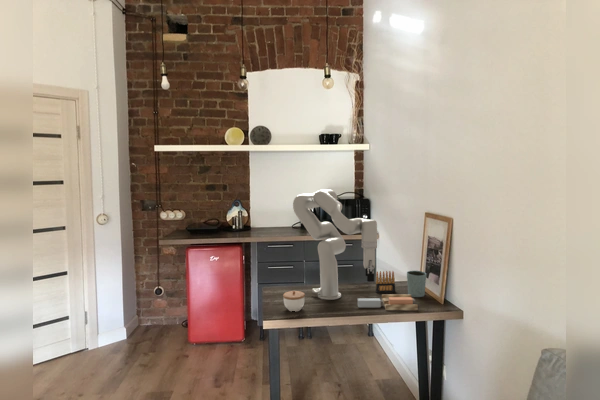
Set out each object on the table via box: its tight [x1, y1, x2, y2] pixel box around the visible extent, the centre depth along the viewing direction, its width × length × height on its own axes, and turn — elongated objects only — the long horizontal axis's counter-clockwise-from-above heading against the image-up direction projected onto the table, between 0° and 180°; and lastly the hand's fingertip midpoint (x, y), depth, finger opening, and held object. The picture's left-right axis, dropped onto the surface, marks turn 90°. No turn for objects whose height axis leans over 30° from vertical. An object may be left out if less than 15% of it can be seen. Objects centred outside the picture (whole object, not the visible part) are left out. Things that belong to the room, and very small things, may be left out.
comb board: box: [381, 293, 419, 311], centre depth 189 cm, size 15×16×2 cm
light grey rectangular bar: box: [357, 297, 384, 308], centre depth 188 cm, size 12×4×4 cm, turn 86°
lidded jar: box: [282, 290, 306, 312], centre depth 186 cm, size 11×11×9 cm
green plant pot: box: [406, 270, 427, 298], centre depth 203 cm, size 10×10×12 cm
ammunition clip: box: [375, 270, 396, 294], centre depth 209 cm, size 11×2×12 cm, turn 90°
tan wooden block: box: [389, 296, 416, 304], centre depth 184 cm, size 12×4×4 cm, turn 85°
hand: (369, 278), depth 187 cm, fingers open, 9 cm apart
